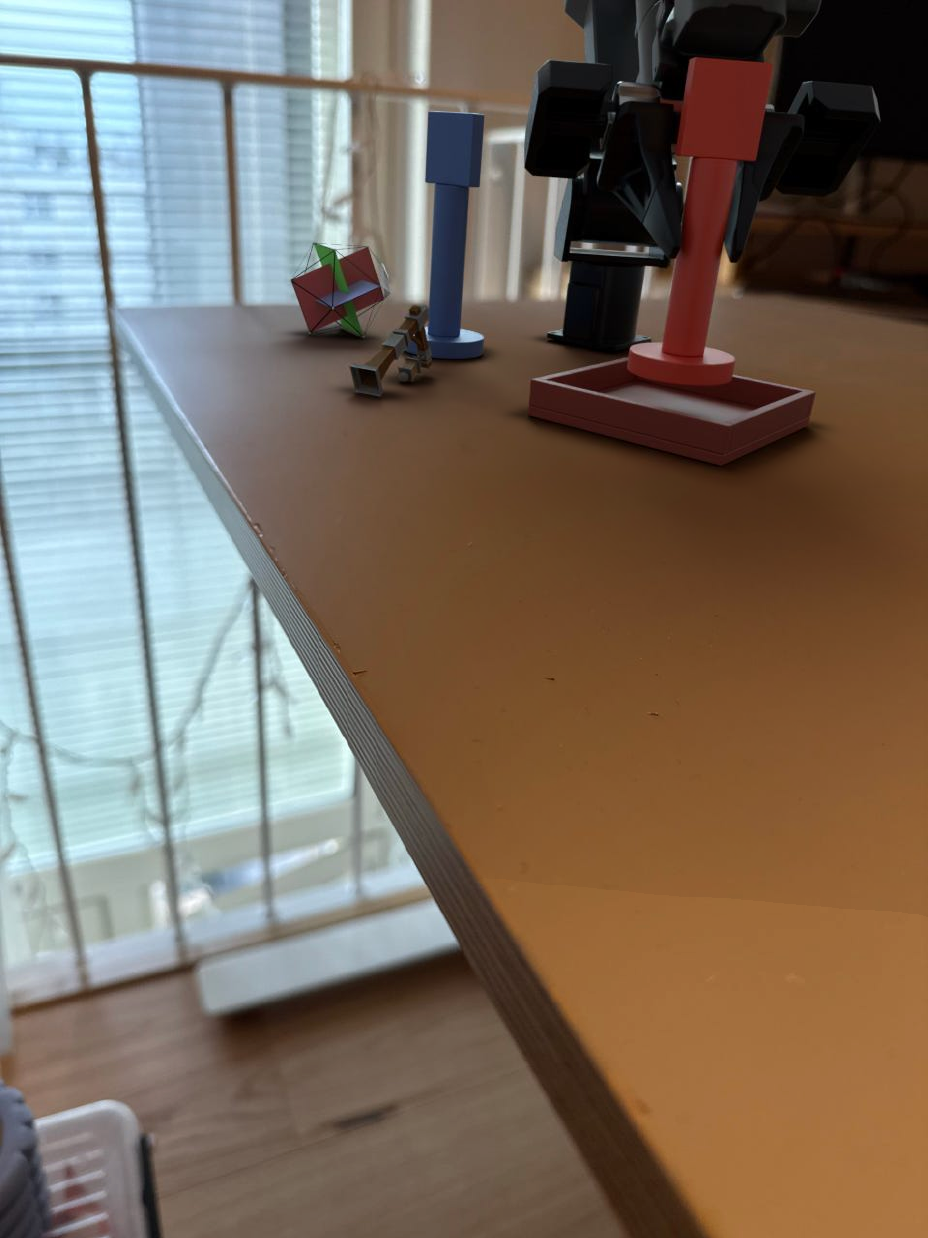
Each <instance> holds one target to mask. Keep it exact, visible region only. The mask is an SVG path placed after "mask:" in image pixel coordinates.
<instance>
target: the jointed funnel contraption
mask: <svg viewBox="0 0 928 1238" xmlns="http://www.w3.org/2000/svg"><path fill="white" fill-rule="evenodd" d="M404 319H405V320H404V321H403V322H402V323H401V325H400V326H399V327H398V328H395V327H394V328H393V330H392V333H389V335H388V337H387V338H386V339H385V341H384V342H382V343H381V348H380V349H379V351H378V352H377V353H376V354H374V355H373V356H372V357H371V358H370V359H368V360H367V361H366V362H365V363H364V364H359V363H355V362H354V363H352V365H349V366H348V367H349V370H350V374H351V378H352V383H353V387H354V391H355V392H356V393H361V394H366V395H371V396H377V397H382V394H383V393H384V388H383V384H382V380H383V379H384V377H385V375H386V373H387V372H388V370H389V368H390V366H391V365H392V364H393V362H394V361H395V360H396V361H398V360H399V359H400V356H402V354H403V353H404V352H406V351H405V350H407V349H406V347H409V345H410V344H411V343H410V339H411V340H412V341H413V342H414V343H416V345H417V349H416V353H417V355H415V356H414V355H412V357H409V356H405V357H404V363H403V364H401V365H400V366H397V369H398V379H399V381H400V382H403V383H405V382H412V383H414V379H415V377H416V376H417V375H418V374H420V375H421V374H422V373H423V371H422V368H424V369H430V368H431V366H432V365H433V362H432V360H433V358H431V357H430V356H431V355H432V354H431V349H430V346H428V342H427V336H426V331H425V327H426V326H425V325H426V323H428V321H429V320H430V319H429V305H427V304H425V303H423V304H422V303H421V304H420V305H419V304H413V305H411V306H410V307H409V309H408V313H407V314H406V315H404ZM414 335H415V336H414Z"/></svg>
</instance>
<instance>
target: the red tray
mask: <svg viewBox="0 0 928 1238" xmlns="http://www.w3.org/2000/svg"><path fill="white" fill-rule="evenodd" d="M628 357H629V356H626V357H622V358H618V359H614V360H609V361H605V362H600V363H596V364H591V365H588V366H587V365H586V366H583V367H578V368H574V369H571V370H565V371H561V372H557V373H553V374H549V375H545V376H540V377H535V378H532V379H530V386H529V397H528V407H527V415H528V417H529V416H530V417H533V418H536V419H541V420H545V421H549V422H552V423H555V424H559V425H564V426H568V427H570V428H575V429H577V430H578V429H579V430H583V431H586V432H590V433H594V434H598V435H601V436H605V437H609V438H612V439H617V440H621V441H625V442H627V443H628V442H629V443H631V444H635V445H639V446H644V447H648V448H651V449H655V450H659V451H662V452H666V453H669V454H674V455H677V456H681V457H685V458H689V459H692V460H696V461H700V462H704V463H707V464H711V465H714V466H715V465H716V466H719V467H722V466H724V465H726V464H728V463H731V462H733V461H735V460H738V459H739V458H742V457H744V456H746V455H749V454H751V453H753V452H754V451H757V450H759V449H761V448H763V447H766V446H768V445H770V444H772V443H774V442H776V441H778V440H781V439H783V438H785V437H787V436H790V435H791V434H794V433H796V432H798V431H800V430H802V429H804V428H806V427H808V426H809V423H810V419H811V418H810V417H811V415H812V410H813V406H814V401H815V398H816V394H817V392H816V391H814V390H809V389H804V388H800V387H795V386H791V385H785V384H780V383H775V382H770V381H766V380H761V379H755V378H752V377H746V376H741V375H736V374H733V376H732V380H731V381H730V382H729V383H726V384H722V385H715V386H689V385H678V384H670V383H664V382H658V381H654V380H649V379H646V378H642V377H639V376H637V375H635V374H633V373H631V372H630V371H628V369H627V364H628Z"/></svg>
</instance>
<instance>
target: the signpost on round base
mask: <svg viewBox="0 0 928 1238" xmlns="http://www.w3.org/2000/svg"><path fill="white" fill-rule="evenodd" d="M773 69H774V63H773V62H765V63H763V62H750V61H738V60H725V59H713V58H700V57H696V58H692V59H690V60H689V67H688V73H687V80H686V87H685V93H684V100H683V107H682V113H681V120H680V127H679V133H678V140H677V147H676V153H675V154H674V156H675V157H687V158H688V157H689V158H691V160H690V166H689V173H688V179H687V186H686V192H685V196H684V197H685V199H684V210H683V216H682V222H681V248H680V251H679V253H678V255H677V257H676V259H674V260H675V261H674V266H673V267H674V268H673V273H672V280H671V287H670V291H669V292H670V293H669V297H668V299H669V300H668V305H667V311H666V318H665V325H664V331H663V336H662V337H663V338H662V341H660V342H656V341H655V342H653V341H651V343H640V344H636V345H633V346H631V347H630V348H629V351H628V356H627V357H628V364H627V369H628V371H630V372H631V373H633V374H635V375H637V376H639V377H642V378H646V379H649V380H654V381H658V382H664V383H670V384H678V385H689V386H715V385H722V384H726V383H729V382H730V381H731V380H732V376H733V375H734V371H735V365H736V357H735V356H734V355H732V354H731V353H728V352H725V351H723V350H719V349H716V348H712V347H707V346H706V344H707V339H708V332H709V328H710V322H711V317H712V312H713V311H712V310H713V305H714V300H715V294H716V290H717V289H716V288H717V283H718V276H719V271H720V265H721V260H722V254H723V248H724V238H725V233H726V227H727V222H728V216H729V210H730V205H731V199H732V194H733V188H734V182H735V177H736V171H737V166H738V161H737V160H742V161H755V160H756V156H757V151H758V145H759V140H760V135H761V129H762V124H763V119H764V113H765V108H766V104H767V103H768V97H769V92H770V87H771V80H772V75H773Z"/></svg>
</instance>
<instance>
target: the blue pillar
mask: <svg viewBox="0 0 928 1238" xmlns="http://www.w3.org/2000/svg"><path fill="white" fill-rule="evenodd" d="M426 128H427V129H426V151H425V152H426V154H425V155H426V156H425V177H424V182H425V183H426V184H434V191H433V211H432V213H433V214H432V233H431V252H430V253H431V254H430V274H429V276H430V278H429V296H428V298H429V300H428V308H429V313H428V314H429V319H430V320H429V321H427V326H425V331H426V336H427V342H428V346H430V349H431V354H432V355H431V356H430V357H431V359H439V360H440V359H441V360H466V359H467V360H468V359H474V358H475V359H476V358H479V357H481V356H482V355H484V349H485V348H484V346H485V336H484V335H483V334H482V333H479V332H476V331H472V330H468V329H463V328H461V327H462V310H463V298H464V297H463V295H464V282H465V281H464V280H465V279H464V278H465V267H466V266H465V265H466V264H465V263H466V251H467V250H466V248H467V235H468V233H467V232H468V216H469V215H468V213H469V201H470V188H480V186H481V174H482V161H483V160H482V158H483V144H484V130H485V129H484V128H485V114H484V113H476V112H457V111H439V110H428V111H427V127H426ZM414 336H415V335H414ZM410 343H411V344H410V345H409V347H406V349H407V350H405V351H404V352H407V353H409V354H411V355H415V356H417V353H416V349H417V345H416V343H414V342H413V341H412V340H411V339H410Z"/></svg>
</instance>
